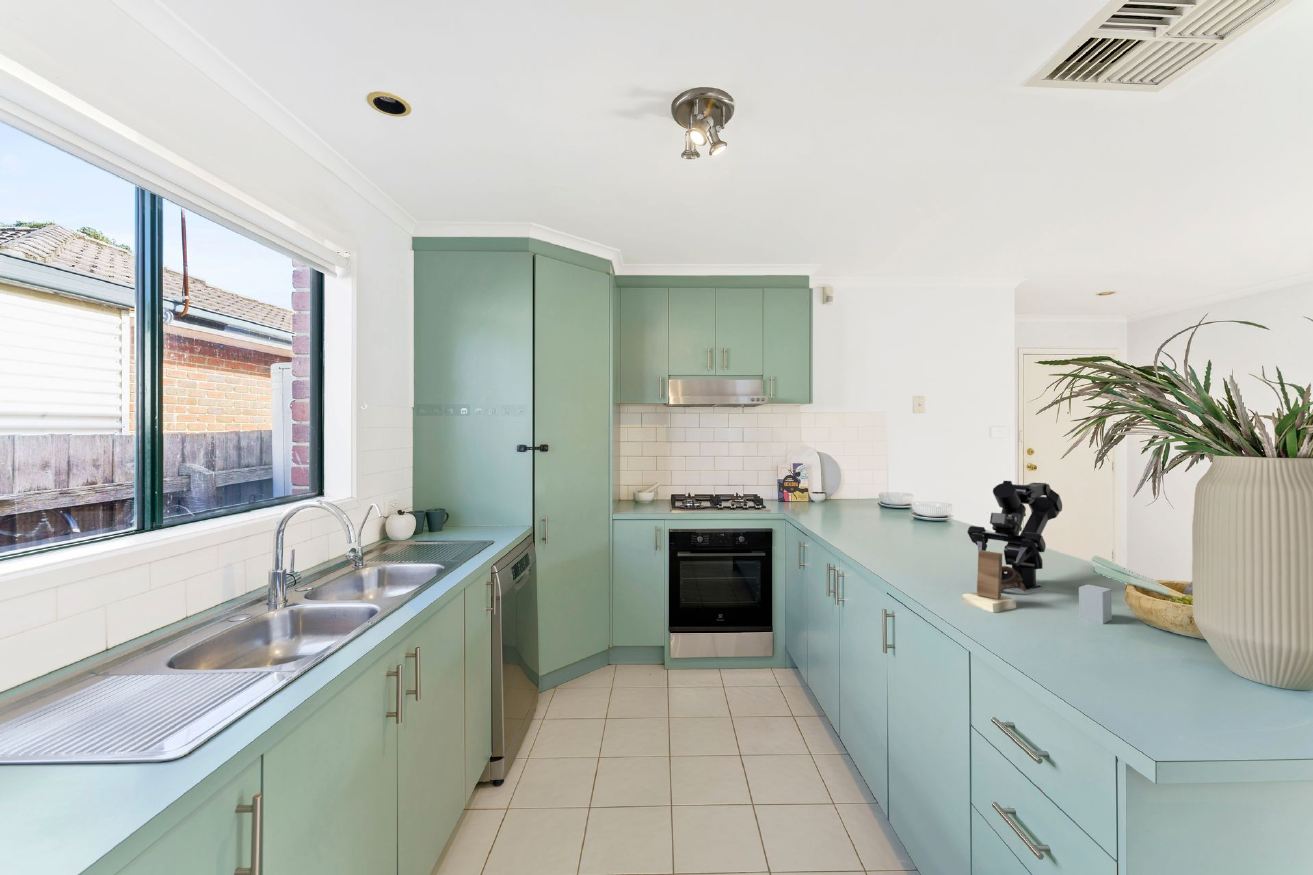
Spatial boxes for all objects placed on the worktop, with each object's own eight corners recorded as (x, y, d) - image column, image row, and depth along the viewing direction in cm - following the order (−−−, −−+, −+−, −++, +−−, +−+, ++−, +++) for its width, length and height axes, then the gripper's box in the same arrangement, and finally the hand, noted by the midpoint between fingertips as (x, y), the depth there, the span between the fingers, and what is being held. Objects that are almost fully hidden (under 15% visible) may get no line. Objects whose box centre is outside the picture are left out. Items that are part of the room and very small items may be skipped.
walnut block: (980, 592, 152) (981, 550, 152) (1000, 596, 148) (1002, 553, 148) (976, 594, 149) (978, 552, 149) (997, 599, 145) (999, 555, 145)
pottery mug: (1035, 596, 157) (1026, 574, 155) (1004, 609, 158) (995, 587, 156) (1009, 575, 169) (1001, 554, 167) (981, 587, 170) (972, 567, 168)
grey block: (1088, 614, 139) (1087, 584, 139) (1111, 620, 135) (1111, 588, 135) (1079, 618, 137) (1078, 587, 137) (1102, 624, 133) (1102, 592, 133)
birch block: (985, 600, 154) (985, 590, 154) (1016, 610, 146) (1015, 599, 145) (962, 604, 151) (962, 594, 151) (992, 614, 142) (992, 603, 142)
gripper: (969, 499, 163) (954, 540, 156) (1041, 505, 148) (1029, 551, 141) (979, 521, 168) (966, 562, 161) (1051, 529, 153) (1039, 574, 147)
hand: (998, 562), depth 152 cm, fingers open, 9 cm apart
